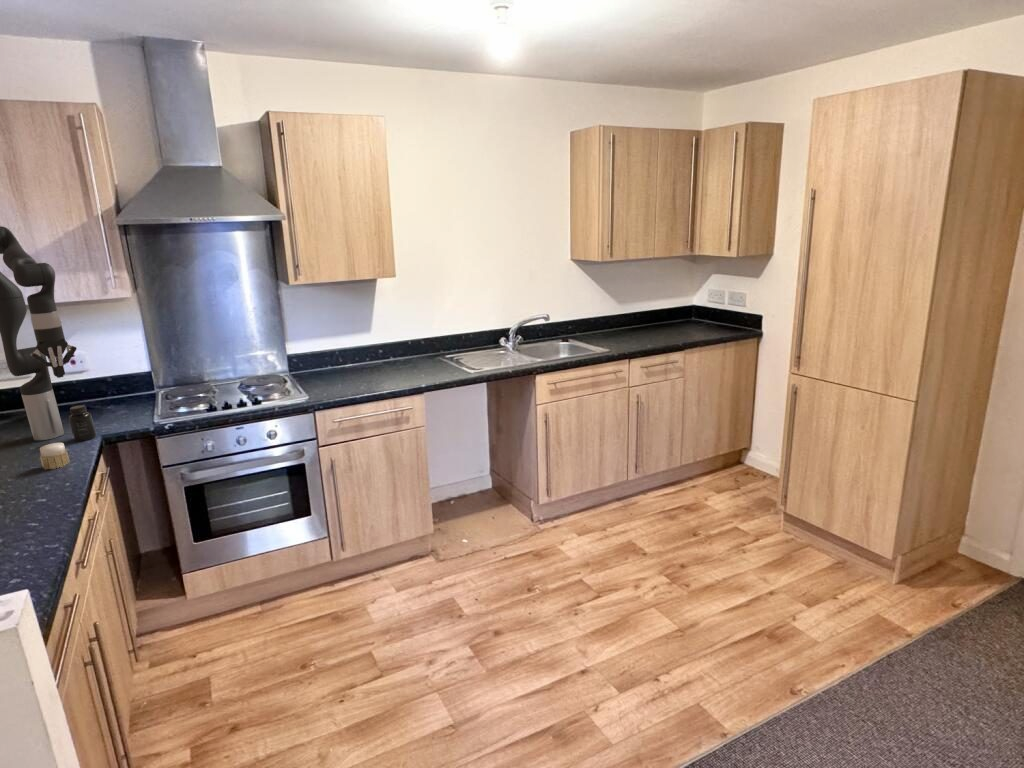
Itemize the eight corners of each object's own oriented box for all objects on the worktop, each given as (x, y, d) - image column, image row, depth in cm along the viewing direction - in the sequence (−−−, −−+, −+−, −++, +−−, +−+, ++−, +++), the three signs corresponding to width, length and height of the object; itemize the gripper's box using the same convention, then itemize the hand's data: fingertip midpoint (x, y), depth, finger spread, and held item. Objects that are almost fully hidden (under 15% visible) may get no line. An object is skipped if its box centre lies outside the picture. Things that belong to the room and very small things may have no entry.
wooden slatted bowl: (40, 466, 199) (37, 454, 198) (65, 459, 205) (62, 447, 203) (47, 471, 195) (44, 459, 194) (72, 463, 200) (69, 452, 199)
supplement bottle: (100, 434, 227) (93, 403, 224) (89, 441, 221) (81, 409, 217) (82, 435, 227) (74, 404, 224) (69, 442, 220) (61, 410, 217)
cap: (40, 461, 199) (36, 447, 198) (63, 455, 204) (60, 441, 202) (47, 466, 195) (43, 451, 194) (70, 459, 200) (66, 445, 199)
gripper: (67, 321, 207) (79, 370, 212) (19, 328, 198) (32, 379, 203) (74, 323, 203) (86, 374, 208) (26, 330, 193) (39, 383, 198)
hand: (60, 376), depth 205 cm, fingers closed
